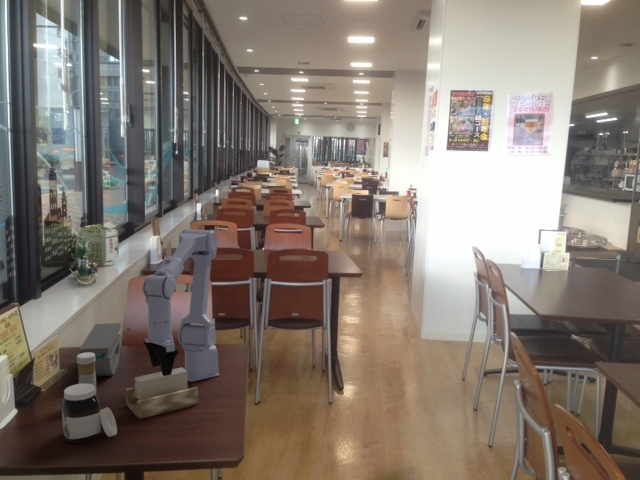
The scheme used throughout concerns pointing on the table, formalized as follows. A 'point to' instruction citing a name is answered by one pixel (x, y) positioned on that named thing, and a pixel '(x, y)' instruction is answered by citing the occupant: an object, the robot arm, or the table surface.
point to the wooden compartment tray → (161, 402)
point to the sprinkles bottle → (86, 369)
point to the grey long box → (104, 347)
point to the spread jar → (85, 414)
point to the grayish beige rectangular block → (160, 383)
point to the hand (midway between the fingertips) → (161, 370)
